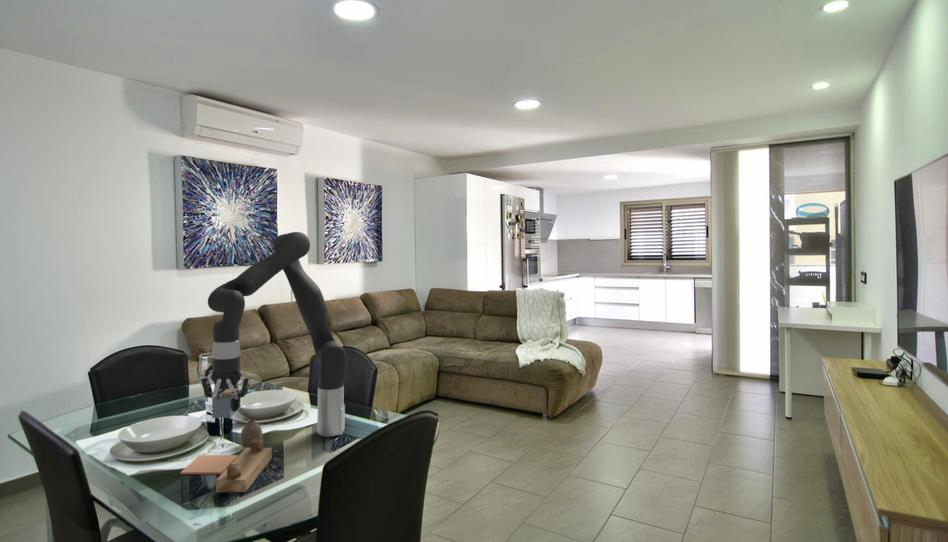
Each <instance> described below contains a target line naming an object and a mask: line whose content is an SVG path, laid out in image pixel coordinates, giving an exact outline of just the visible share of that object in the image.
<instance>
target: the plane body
mask: <svg viewBox="0 0 948 542" xmlns="http://www.w3.org/2000/svg"><path fill="white" fill-rule="evenodd" d="M264 442H265V441H264V438H262V439H253V440H252V441H251V443H250V448H246V447H245V448H244V450H243V451H242V452H240V453H239V455H238V457H237V458H236V459H235V460H234V461H233V462H232V463H231V465H229V466H228V467H227V469H226V470H225V471H224V472H223V473H222V474H219V476H218V477H217V478H216V479H215V493H246V492H247V491H248V490H249V488H250V487H251V486H252V485H253V483H254V482H255V481H256V480H257V478H258V476H260V474H261V472H263V470H264V469H265V468H266V466H267V465H268V464H269V463H270V461H271V460H272V458H273V457H272V455H273V453H272V451H273V448H272V447H264ZM250 485H251V486H250ZM247 489H248V490H247ZM246 490H247V491H246Z"/></svg>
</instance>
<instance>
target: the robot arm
mask: <svg viewBox="0 0 948 542" xmlns="http://www.w3.org/2000/svg"><path fill="white" fill-rule="evenodd" d="M310 248H311V243H310V239H309V237H308V236H307V235H306V233H304V232H301V231H293V232H288V233H283V234H279V235H278V236H276V237H275V239H274V240H273V251H274V252H273V253H271V254H270V255H267V257H264V258H262V259H260V260H259V261H257V262H256V263H254V264H252V265H250V267H248V268H247V269H245V270H243V272H242V273H240V274H239V275H238V276H237V277H236V278H234V279H231V280H229V281H227V282H225V283H223V284H221V285H219V286H217V287H216V288H214V290H212V291H211V292H210V293H209V296H208V298H207V306H208V308H210V310H212V311H213V312H215V313H223V315H222V317H221V318H222V319H221V320H218V321H216V322H214V325H213V329H212V330H213V332H212V334H213V335H212V337H213V340H212V342H213V343H212V352H211V357H212V362H211V363H212V366H211V367H212V369H211V370H212V374H210V376H207V375H206V376H204V377H203V378H201V379H200V380H201V385H202V389H203V393H204V396H205V397H206V398H210V399H211V401H212V400H213V399H214V398H215V397H217V396H218V395H219V394H221V392H222V390H226V389H230V391H231V393H232V394H233V397H234V411H237V410H238V409H239V408H240V409H241V399H242V398H244V397H245V396H246V395H247V394H248V391H249V386H250V383H251V379H252V378H251V376H249V375H248V376H244V375H242V373H241V343H240V325H241V323H242V318H243V314H244V312H245V306H246V301H245V297H250V296H252V295H253V294H254V293H256V292H257V291H258V290H260V289H261V288H262V287H263V286H264V285H265V284H267V283H268V282H269V281H270V280H271V279H272V278H274V277H275V275H277V274H279V273H280V272H281V271H283V272H284V274H285V276H286V279H287V281H288V283H289V287H290V289H291V292H292V294H293V296H294V299H295V302H296V306H297V308H298V311H299V313H300V315H301V317H302V320H303V322H304V324H305V327H306V329H307V330H308V333H309V335H310V339H311V342H312V345H313V350H314V355H315V359H316V361H317V362H318V363H319V364H320V376H319V378H318V380H317V435H319V436H321V437H328V438H329V437H335V436H342V435H343V433H344V431H345V428H346V424H345V423H346V415H345V414H346V404H345V403H344V399H345V397H344V396H345V395H344V394H345V388H344V387H345V380H346V377H347V353H346V350H345V348H344V347H343V346H341V345H339V344H338V343H337V342H336V339H335V337H334V336H333V333H332V331H331V328H330V326H329V318H328V317H329V315H328V314H329V313H328V308H327V304H326V302H325V298H324V295H323V293H322V291H321V288H320V287H319V286H318V284H316V282H315V281H314V280H313V279H312V278H311V277H310V276H309V275H308V273H306V271H305V270H304V268H303V266H302V264H301V261H300V259H301V258H303V257H305V256H306V255H307V254H308V253H309V251H310V250H311V249H310ZM240 381H241V383H240V384H242V387H241V390H240V386H239V385H238V383H239V382H240ZM212 382H213V384H215V386H214V389H213V388H212V385H211V383H212ZM240 409H239V410H240ZM239 410H238V411H239ZM238 411H237V412H238Z"/></svg>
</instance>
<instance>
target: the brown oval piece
mask: <svg viewBox="0 0 948 542" xmlns="http://www.w3.org/2000/svg"><path fill="white" fill-rule="evenodd" d="M239 438H240V442H241V445H242V446H243V447H245V448H250V443H251V441H252V440H253V439H263V429H262V427H261V426H260V424H258V423H257V421H256V420H255V419H248V420H247V422H246V424H245V425H244V426H243V428H242V429H241V432H240V437H239Z"/></svg>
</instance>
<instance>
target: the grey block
mask: <svg viewBox="0 0 948 542" xmlns="http://www.w3.org/2000/svg"><path fill="white" fill-rule="evenodd" d="M211 401H212V402H211V405H212V407H211V408H212V413H211V416H212V419H231V418H232V417H233V416H234V415H235V414H236V413H238V411H239V410H241V407H240V408H239V409H238V410H237V411H234V397H233V394H232V393H231V391H230V389H224V391H221V392H220V394H219V395H218V396H217V397H215V398H214V399H213V400H212V399H211Z"/></svg>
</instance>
